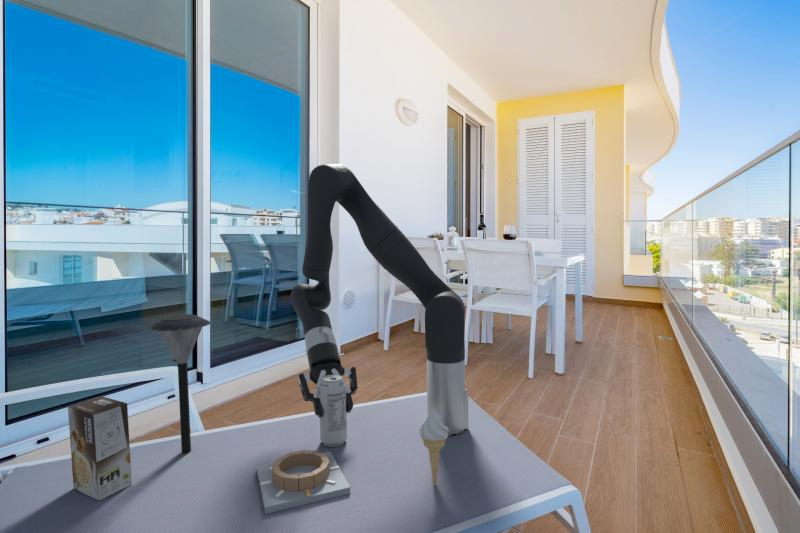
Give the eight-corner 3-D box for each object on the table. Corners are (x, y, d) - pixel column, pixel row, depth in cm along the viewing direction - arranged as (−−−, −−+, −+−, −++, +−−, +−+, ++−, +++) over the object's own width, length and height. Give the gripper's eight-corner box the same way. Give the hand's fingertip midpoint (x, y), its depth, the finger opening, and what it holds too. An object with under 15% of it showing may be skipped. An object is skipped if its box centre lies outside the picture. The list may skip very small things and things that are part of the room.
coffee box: (134, 484, 86) (129, 402, 85) (98, 502, 80) (93, 414, 79) (106, 473, 90) (101, 395, 89) (70, 489, 84) (65, 406, 83)
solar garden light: (216, 458, 95) (210, 319, 93) (151, 470, 91) (144, 324, 89) (216, 435, 107) (211, 310, 105) (158, 444, 102) (151, 314, 100)
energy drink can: (340, 433, 107) (338, 372, 106) (351, 443, 102) (350, 378, 101) (316, 440, 103) (314, 376, 102) (327, 450, 98) (325, 383, 97)
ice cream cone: (429, 495, 81) (429, 414, 80) (414, 480, 86) (413, 404, 85) (455, 487, 83) (455, 408, 82) (439, 473, 88) (438, 399, 87)
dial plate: (330, 456, 96) (329, 439, 95) (350, 493, 82) (349, 473, 82) (256, 471, 90) (256, 453, 90) (265, 514, 76) (264, 493, 76)
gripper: (294, 344, 105) (305, 411, 95) (352, 338, 111) (369, 401, 101) (290, 360, 110) (301, 426, 100) (347, 354, 116) (362, 415, 106)
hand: (335, 413), depth 100 cm, fingers closed on energy drink can, 6 cm apart
